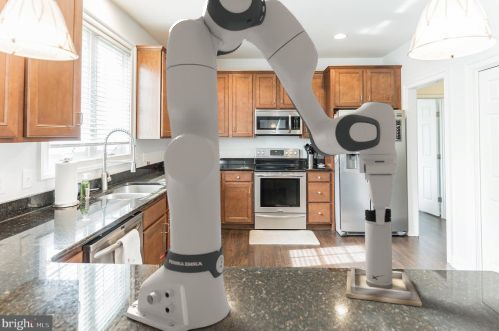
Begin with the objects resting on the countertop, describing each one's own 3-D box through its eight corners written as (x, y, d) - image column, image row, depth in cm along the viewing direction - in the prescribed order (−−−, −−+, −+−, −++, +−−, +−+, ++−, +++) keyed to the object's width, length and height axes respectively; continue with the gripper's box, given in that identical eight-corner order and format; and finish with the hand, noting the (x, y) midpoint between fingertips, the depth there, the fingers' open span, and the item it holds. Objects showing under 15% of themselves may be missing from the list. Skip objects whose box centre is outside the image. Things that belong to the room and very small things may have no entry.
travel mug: (377, 292, 72) (376, 209, 72) (361, 281, 78) (359, 206, 78) (399, 288, 73) (397, 208, 73) (381, 279, 80) (379, 205, 80)
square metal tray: (346, 297, 71) (346, 287, 71) (347, 273, 86) (347, 265, 86) (421, 306, 66) (421, 296, 66) (409, 279, 81) (408, 271, 81)
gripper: (363, 165, 87) (364, 212, 87) (366, 166, 68) (367, 227, 68) (386, 165, 85) (387, 213, 85) (396, 166, 65) (397, 228, 65)
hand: (378, 219), depth 76 cm, fingers open, 8 cm apart
